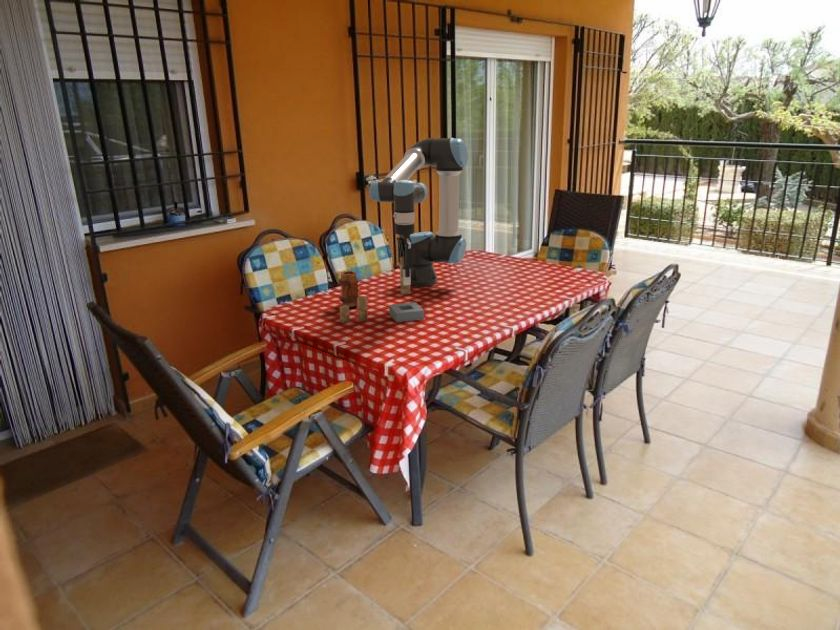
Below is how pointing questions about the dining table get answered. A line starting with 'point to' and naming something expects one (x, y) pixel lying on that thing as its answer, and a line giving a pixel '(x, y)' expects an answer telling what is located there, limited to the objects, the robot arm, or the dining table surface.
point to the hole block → (406, 312)
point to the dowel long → (404, 288)
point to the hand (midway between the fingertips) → (405, 283)
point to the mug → (349, 288)
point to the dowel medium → (362, 308)
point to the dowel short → (344, 314)
